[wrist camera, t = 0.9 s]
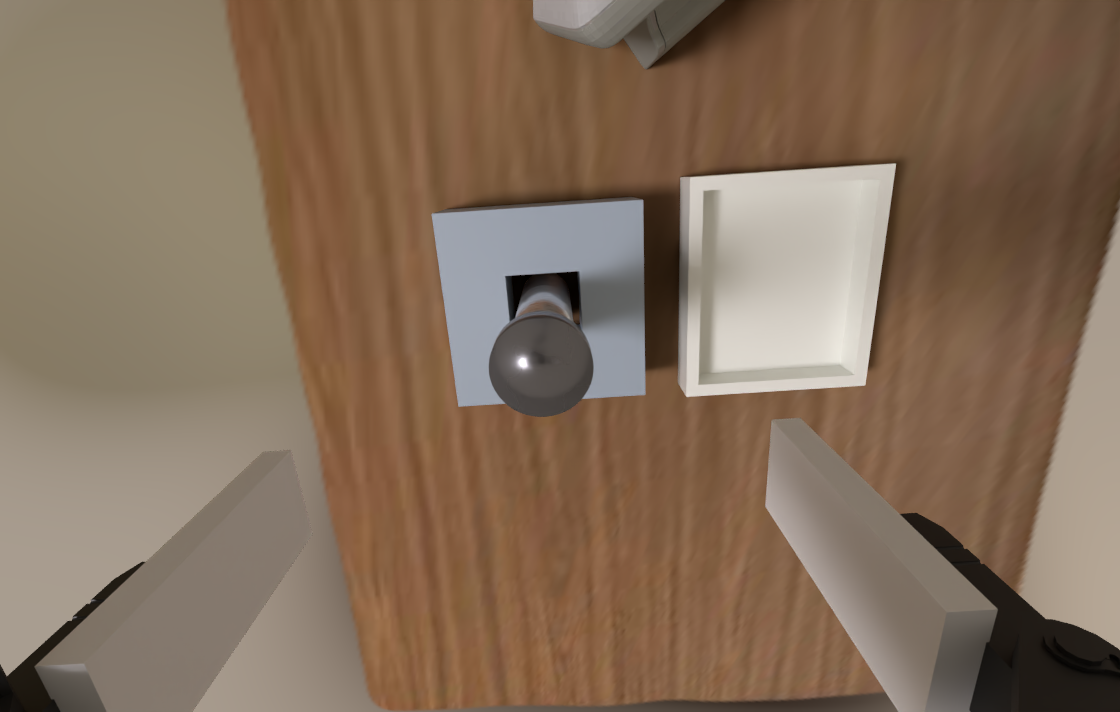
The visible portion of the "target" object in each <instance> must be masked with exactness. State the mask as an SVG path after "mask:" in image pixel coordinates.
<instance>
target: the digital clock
mask: <svg viewBox="0 0 1120 712" xmlns="http://www.w3.org/2000/svg"><path fill="white" fill-rule="evenodd" d="M724 1H725V0H533V18H534V20H535V21H536V23H537V24H538V25H539V26H540V27H541V28H542V29H544V30H545V31H547V32H549V33H551V34H554V35H557V36H560V37H563V38H566V39H570V40H573V41H576V42H579V43H582V44H586V45H589V46H594V47H598V48H609V47H611V46H613V45H615V44H616V43H618V42H619V41H620V40H622V39H624V40H625V41H626V43H627V44H628V46H629V47H630V49H631V50H632V52H633V53H634V55H635V56H636V58H637V59H638V61H639V62H640V64H641V65H642V66H643V67H644V68H645V69H648V68H649V67H650V66H651V65H652V64H654V63H655V62H656V61H657V60H658V59H659V58H660V57H661V56H663V55H664V54H665V53H666V52H667V51H668V50H669V49H671V48H672V47H673V46H674V45H675V44H676V43H677V42H679V41H680V40H681V39H682V38H683V37H684V36H685V35H686V34H688V33H689V32H690V31H691V30H692V29H693V28H694V27H696V26H697V25H698V24H699V23H700V22H701V21H702V20H703V19H705V18H706V17H707V16H708V15H709V14H710V13H711V12H713V11H714V10H715V9H716V8H717V7H718V6H719V5H720V4H722V3H723V2H724Z"/></svg>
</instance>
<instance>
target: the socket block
mask: <svg viewBox="0 0 1120 712" xmlns="http://www.w3.org/2000/svg"><path fill="white" fill-rule="evenodd" d="M432 219H433V227H434V234H435V241H436V248H437V255H438V262H439V269H440V277H441V284H442V291H443V298H444V305H445V312H446V320H447V327H448V334H449V341H450V348H451V355H452V362H453V370H454V377H455V384H456V391H457V398H458V405H459V406H475V405H491V404H506V403H505V402H503V401H502V399H501V398H500V397H499V396H498V395H497V393H496V392H495V390H494V388H493V386H492V383H491V380H490V376H489V358H490V354H491V351H492V348H493V345H494V343H495V340H496V338H497V336H498V334H499V333H500V331H501V330H502V329H503V328H504V327H505V326H506V325H507V324H508V323H509V322H510V321H512V320H513V319H515V308H514V297H513V287H512V275H528V274H543V273H558V272H573V271H577V276H578V295H579V314H580V325H577V326H578V327H579V328H580V329H581V330H582V331H583V333H584V334H585V336H586V338H587V340H588V342H589V345H590V349H591V353H592V358H593V365H594V370H593V378H592V381H591V385H590V387H589V389H588V391H587V392H586V394H585V396H584V397H583V398H582V399H586V398H602V397H618V396H634V395H645V318H644V223H643V199H639V198H635V197H624V198H609V199H594V200H579V201H564V202H549V203H534V204H519V205H504V206H489V207H474V208H459V209H445V210H442V211H439V212H436V213H433V214H432Z"/></svg>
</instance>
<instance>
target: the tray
mask: <svg viewBox="0 0 1120 712" xmlns="http://www.w3.org/2000/svg"><path fill="white" fill-rule="evenodd" d="M895 169H896V164H869V165H854V166H839V167H824V168H809V169H794V170H780V171H765V172H750V173H735V174H720V175H705V176H690V177H680V250H679V335H678V384H679V385H680V387H681V389H682V390H683V392H684V394H685V395H686V397H690V396H706V395H722V394H738V393H754V392H770V391H785V390H801V389H817V388H833V387H849V386H865V384H866V376H867V369H868V362H869V355H870V348H871V341H872V333H873V326H874V319H875V312H876V305H877V298H878V290H879V283H880V276H881V269H882V262H883V255H884V247H885V240H886V233H887V226H888V219H889V212H890V204H891V197H892V190H893V183H894V176H895Z"/></svg>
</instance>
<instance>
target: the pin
mask: <svg viewBox="0 0 1120 712" xmlns="http://www.w3.org/2000/svg"><path fill="white" fill-rule="evenodd" d="M593 370H594V365H593V358H592V353H591V349H590V345H589V342H588V340H587V338H586V336H585V334H584V333H583V331H582V330H581V329H580V328H579V327H578V326H577V325H576V324H575V323H574V322H573V316H572V308H571V301H570V293H569V288H568V286H567V284H566V282H565V281H564V279H562V278H561V277H560V276H559V275H557V274H555V273H543V274H535V275H533V276H531V277H530V278H529V279H528V280H527V282H526V283H525V285H524V287H523V291H522V295H521V298H520V302H519V306H518V310H517V313H516V317H515V319H513V320H512V321H510V322H509V323H508V324H507V325H506V326H505V327H504V328H503V329H502V330H501V331H500V333H499V334H498V336H497V338H496V340H495V343H494V345H493V348H492V351H491V354H490V358H489V376H490V380H491V383H492V386H493V388H494V390H495V392H496V393H497V395H498V396H499V397H500V398H501V399H502V401H503V402H505V403H506V404H507V405H508V406H509V407H511V408H512V409H514V410H516V411H518V412H520V413H523V414H526V415H530V416H537V417H546V416H553V415H557V414H560V413H563V412H565V411H567V410H569V409H570V408H572V407H573V406H575V405H576V404H577V403H578V402H579V401H580V400H581V399H582V398H583V397H584V396H585V394H586V392H587V391H588V389H589V387H590V385H591V381H592V378H593Z"/></svg>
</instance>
